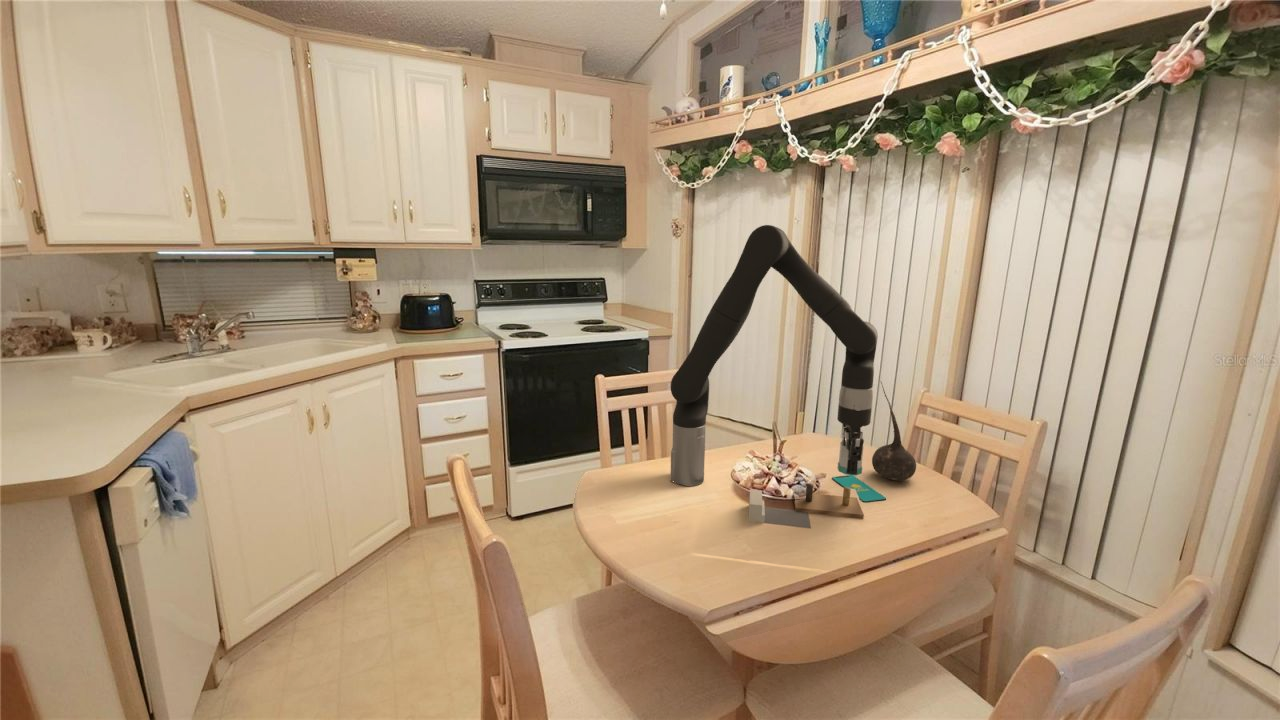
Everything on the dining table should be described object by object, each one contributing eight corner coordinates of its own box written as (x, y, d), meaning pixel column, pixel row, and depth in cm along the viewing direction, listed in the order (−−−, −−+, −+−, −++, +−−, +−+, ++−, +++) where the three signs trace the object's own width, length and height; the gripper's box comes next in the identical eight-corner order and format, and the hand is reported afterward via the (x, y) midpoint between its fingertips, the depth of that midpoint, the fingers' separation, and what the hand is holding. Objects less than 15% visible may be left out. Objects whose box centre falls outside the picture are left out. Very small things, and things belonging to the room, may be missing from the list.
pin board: (795, 513, 128) (797, 491, 127) (793, 496, 137) (794, 475, 135) (863, 520, 125) (865, 498, 123) (856, 503, 133) (858, 481, 132)
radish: (855, 472, 152) (865, 375, 145) (894, 468, 155) (906, 372, 148) (881, 489, 141) (893, 385, 134) (923, 484, 144) (936, 382, 138)
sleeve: (839, 474, 125) (842, 447, 124) (836, 465, 130) (838, 439, 129) (863, 476, 124) (865, 449, 123) (858, 467, 129) (861, 441, 128)
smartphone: (863, 501, 133) (830, 476, 148) (863, 504, 133) (830, 479, 148) (887, 498, 135) (852, 474, 149) (887, 501, 135) (852, 477, 149)
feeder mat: (748, 522, 123) (749, 504, 122) (749, 507, 131) (750, 489, 130) (811, 530, 120) (812, 510, 119) (807, 513, 128) (809, 495, 127)
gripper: (834, 395, 131) (829, 456, 135) (843, 411, 118) (838, 479, 121) (865, 396, 130) (859, 458, 133) (878, 413, 116) (871, 482, 120)
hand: (849, 468), depth 127 cm, fingers closed on sleeve, 5 cm apart
